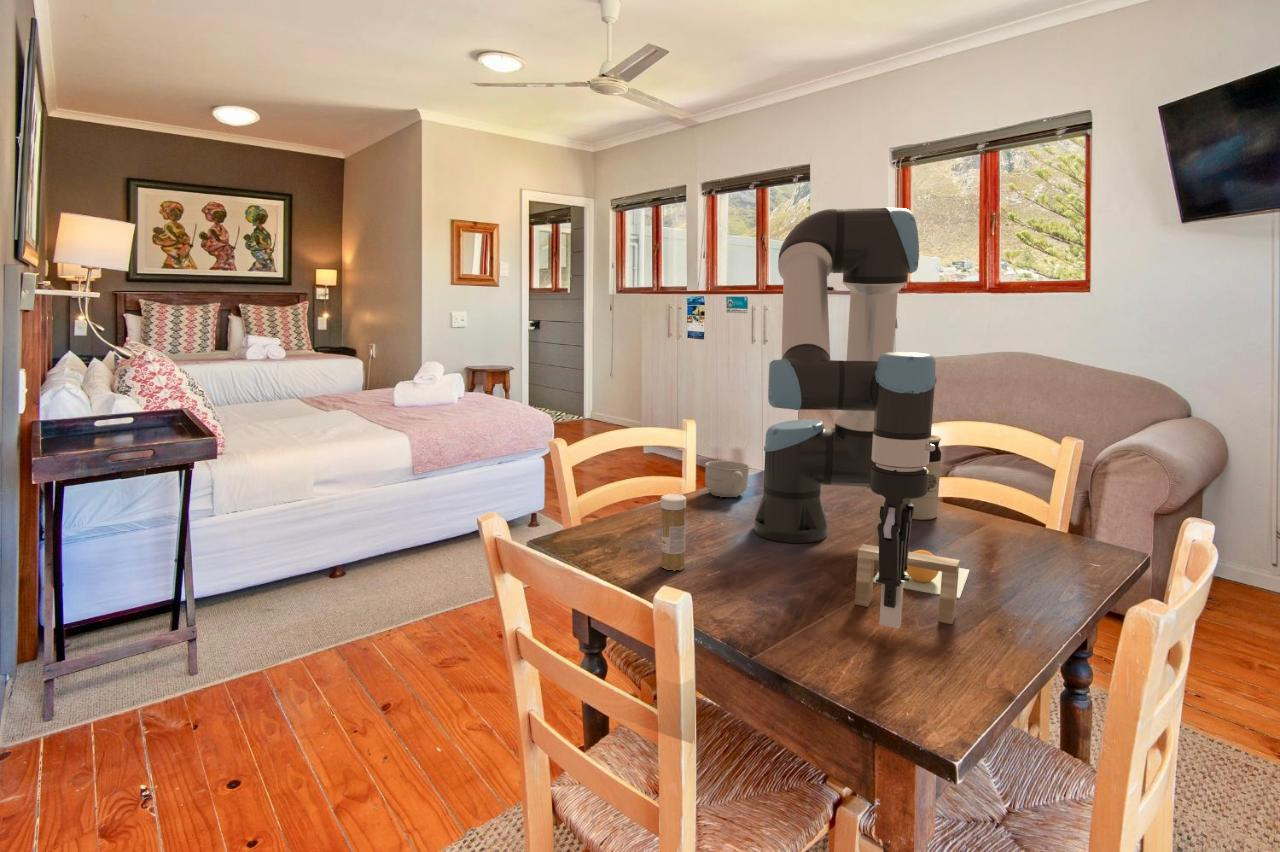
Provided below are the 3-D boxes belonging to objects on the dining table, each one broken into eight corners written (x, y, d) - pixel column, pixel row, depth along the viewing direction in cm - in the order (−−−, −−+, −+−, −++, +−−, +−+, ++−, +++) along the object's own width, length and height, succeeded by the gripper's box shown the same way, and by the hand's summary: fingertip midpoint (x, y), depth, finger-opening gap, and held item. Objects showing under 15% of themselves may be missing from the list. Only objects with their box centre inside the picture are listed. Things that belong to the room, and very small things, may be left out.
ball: (910, 554, 129) (904, 583, 127) (906, 542, 125) (900, 572, 123) (943, 559, 127) (938, 589, 124) (940, 548, 122) (934, 578, 120)
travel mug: (895, 509, 167) (900, 432, 164) (931, 510, 166) (937, 433, 162) (902, 520, 159) (908, 439, 156) (940, 521, 158) (946, 440, 155)
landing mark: (871, 582, 125) (871, 581, 125) (889, 556, 137) (889, 555, 137) (959, 598, 118) (959, 597, 118) (969, 570, 130) (969, 569, 130)
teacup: (701, 490, 184) (701, 459, 183) (743, 488, 185) (744, 458, 184) (711, 505, 171) (711, 472, 169) (756, 504, 171) (757, 471, 170)
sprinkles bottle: (658, 564, 134) (658, 493, 131) (682, 562, 135) (682, 492, 132) (663, 573, 129) (663, 500, 127) (688, 571, 130) (688, 499, 128)
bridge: (952, 624, 109) (956, 566, 107) (855, 604, 116) (857, 549, 115) (955, 616, 112) (959, 560, 110) (859, 597, 119) (862, 544, 117)
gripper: (920, 478, 93) (908, 650, 97) (936, 458, 104) (925, 613, 108) (860, 471, 96) (852, 637, 100) (882, 453, 107) (873, 602, 112)
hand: (890, 624), depth 104 cm, fingers closed
